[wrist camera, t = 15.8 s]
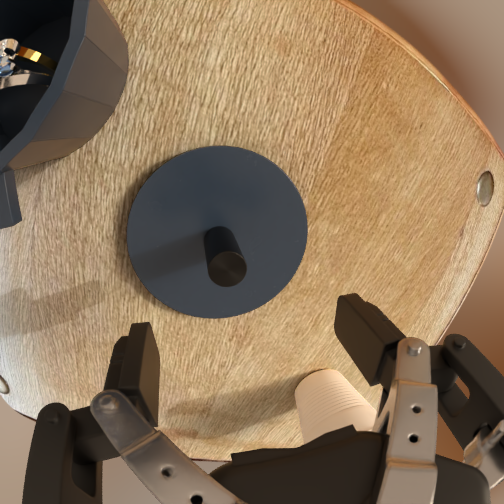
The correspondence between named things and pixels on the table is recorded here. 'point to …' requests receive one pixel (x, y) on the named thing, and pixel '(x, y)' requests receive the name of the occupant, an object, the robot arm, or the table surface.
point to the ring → (12, 74)
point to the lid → (217, 232)
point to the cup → (330, 405)
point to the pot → (57, 85)
